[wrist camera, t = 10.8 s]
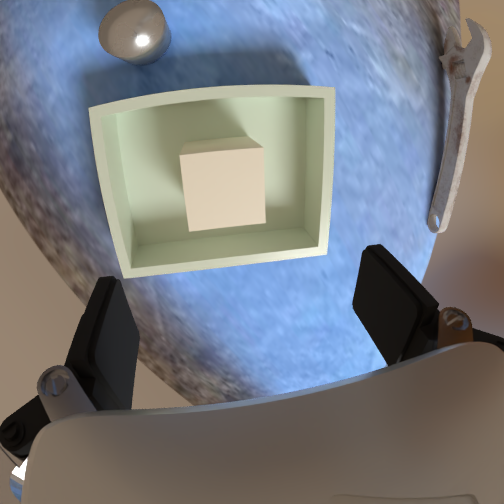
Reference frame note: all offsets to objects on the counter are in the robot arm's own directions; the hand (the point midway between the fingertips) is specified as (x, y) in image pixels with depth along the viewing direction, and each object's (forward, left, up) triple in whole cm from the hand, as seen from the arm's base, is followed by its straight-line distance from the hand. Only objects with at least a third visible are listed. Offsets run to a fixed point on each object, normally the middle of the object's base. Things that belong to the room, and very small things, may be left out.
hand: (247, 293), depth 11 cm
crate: (0, 0, -20) cm, 20 cm away
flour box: (0, 0, -19) cm, 19 cm away
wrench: (-5, +29, -20) cm, 36 cm away
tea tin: (-14, -6, -20) cm, 25 cm away
